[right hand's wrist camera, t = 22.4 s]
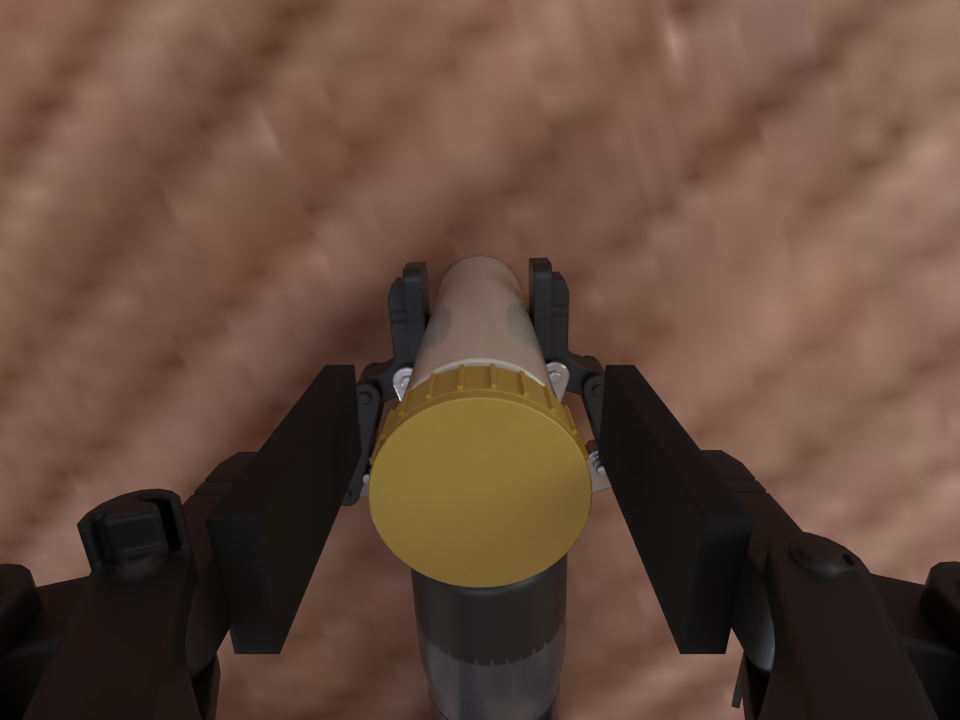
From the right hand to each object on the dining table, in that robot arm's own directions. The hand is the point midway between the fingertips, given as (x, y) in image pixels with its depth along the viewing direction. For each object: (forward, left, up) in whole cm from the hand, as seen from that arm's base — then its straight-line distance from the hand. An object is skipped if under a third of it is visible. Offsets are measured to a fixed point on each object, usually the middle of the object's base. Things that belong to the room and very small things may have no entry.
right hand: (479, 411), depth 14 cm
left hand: (0, +3, -7) cm, 8 cm away
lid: (0, 0, +4) cm, 4 cm away
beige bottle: (0, 0, -14) cm, 14 cm away
